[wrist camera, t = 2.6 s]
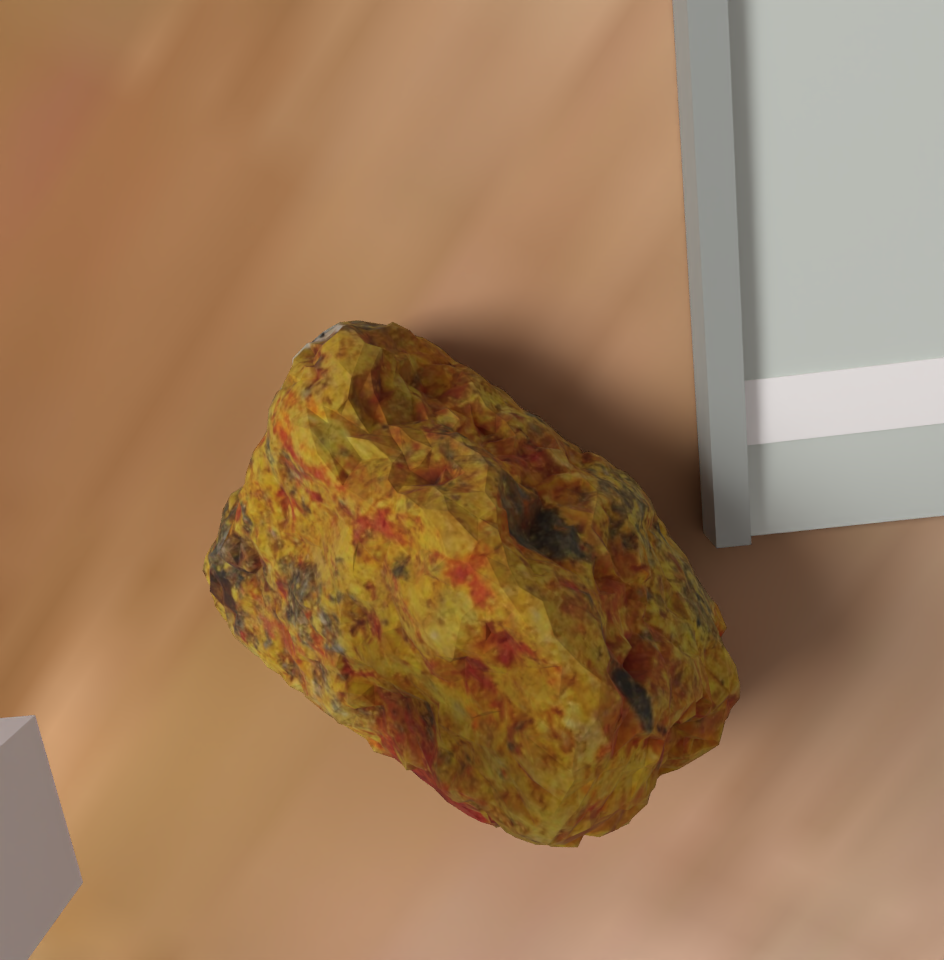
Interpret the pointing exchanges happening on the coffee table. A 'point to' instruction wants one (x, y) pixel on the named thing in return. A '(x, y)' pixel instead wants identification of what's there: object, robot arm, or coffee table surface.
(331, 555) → the rock
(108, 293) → the coffee table surface
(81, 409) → the coffee table surface
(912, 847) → the coffee table surface
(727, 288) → the mat
